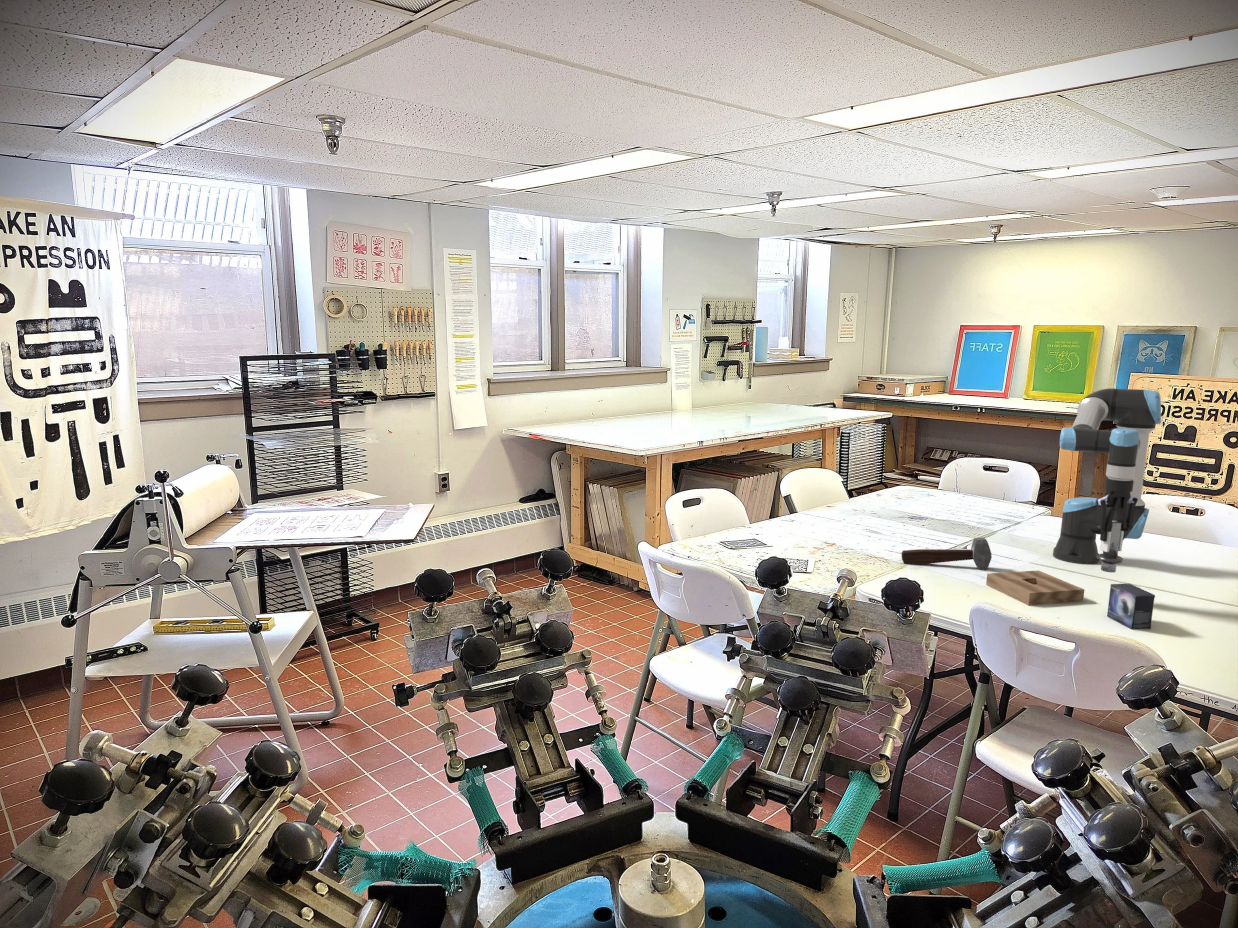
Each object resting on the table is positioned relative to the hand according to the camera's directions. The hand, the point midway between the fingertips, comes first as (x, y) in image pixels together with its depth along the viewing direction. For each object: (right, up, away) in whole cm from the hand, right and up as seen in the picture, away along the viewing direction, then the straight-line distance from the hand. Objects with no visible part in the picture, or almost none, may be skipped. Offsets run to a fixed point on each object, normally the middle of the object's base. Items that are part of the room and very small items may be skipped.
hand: (1110, 550), depth 245 cm
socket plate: (-20, -15, +9) cm, 26 cm away
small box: (-6, -20, -17) cm, 26 cm away
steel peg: (0, -7, +1) cm, 7 cm away
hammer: (-37, -10, +37) cm, 54 cm away
